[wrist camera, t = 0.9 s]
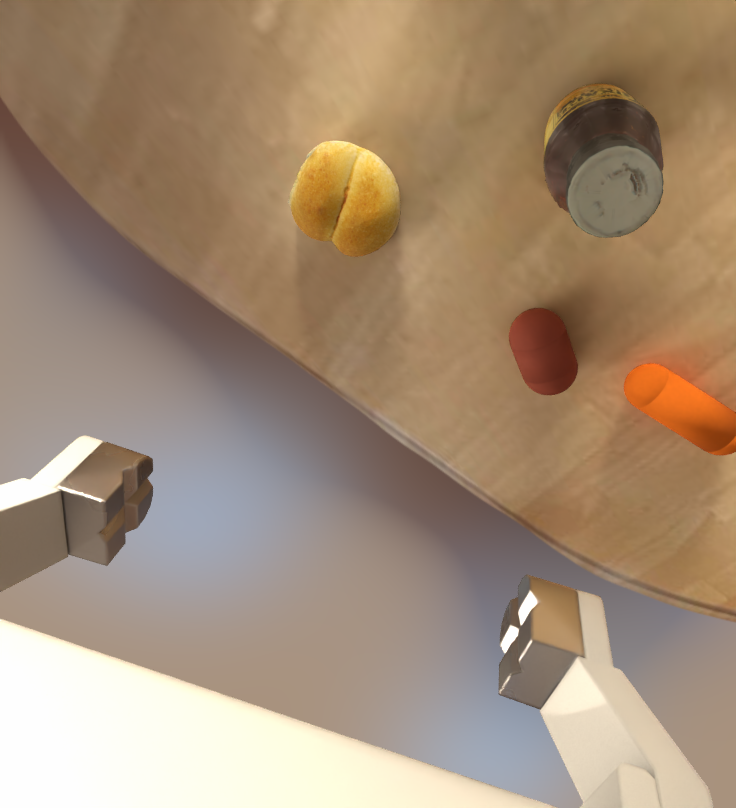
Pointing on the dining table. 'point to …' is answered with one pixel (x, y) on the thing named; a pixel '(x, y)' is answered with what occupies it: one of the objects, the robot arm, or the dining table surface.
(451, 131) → the dining table surface
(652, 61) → the dining table surface
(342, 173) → the bread roll
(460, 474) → the dining table surface
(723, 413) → the carrot
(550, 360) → the sausage
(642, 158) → the sauce bottle
